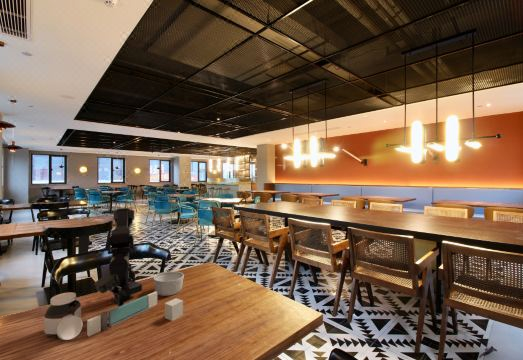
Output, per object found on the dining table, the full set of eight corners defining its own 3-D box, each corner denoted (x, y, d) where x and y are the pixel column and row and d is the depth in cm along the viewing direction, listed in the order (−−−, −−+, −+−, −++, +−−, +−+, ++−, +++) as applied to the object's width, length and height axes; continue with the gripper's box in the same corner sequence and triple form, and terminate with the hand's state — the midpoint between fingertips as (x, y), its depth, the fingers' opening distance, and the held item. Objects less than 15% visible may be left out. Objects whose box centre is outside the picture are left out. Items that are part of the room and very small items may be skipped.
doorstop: (164, 318, 97) (165, 303, 97) (175, 312, 101) (175, 298, 101) (172, 321, 94) (172, 306, 94) (182, 315, 99) (183, 300, 99)
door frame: (86, 334, 86) (86, 319, 86) (154, 303, 108) (154, 290, 108) (89, 337, 84) (90, 321, 84) (158, 304, 107) (158, 291, 107)
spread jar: (63, 322, 93) (64, 290, 93) (94, 323, 93) (95, 290, 93) (33, 343, 81) (33, 306, 81) (68, 344, 81) (69, 307, 81)
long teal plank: (110, 324, 91) (110, 312, 91) (108, 323, 91) (108, 311, 91) (147, 307, 103) (147, 296, 103) (145, 306, 104) (145, 295, 104)
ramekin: (172, 283, 129) (172, 269, 129) (189, 289, 121) (189, 274, 121) (147, 292, 118) (147, 277, 118) (164, 300, 111) (164, 284, 111)
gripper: (84, 267, 96) (84, 309, 96) (112, 277, 87) (112, 324, 87) (114, 259, 106) (114, 297, 106) (143, 267, 96) (142, 310, 96)
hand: (120, 306), depth 98 cm, fingers closed
